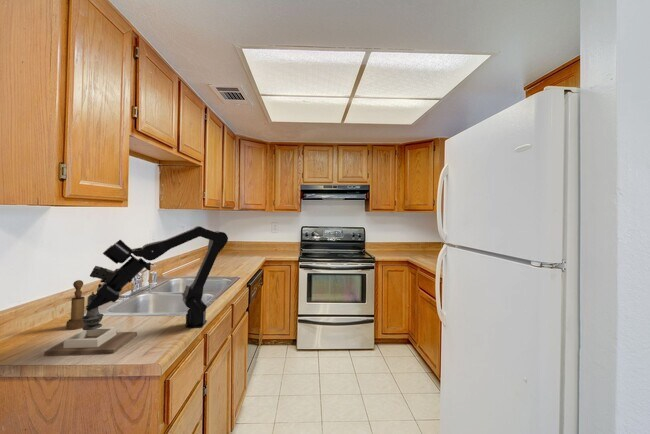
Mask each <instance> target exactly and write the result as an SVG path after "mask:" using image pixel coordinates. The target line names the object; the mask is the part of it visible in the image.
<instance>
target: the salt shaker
mask: <svg viewBox="0 0 650 434" xmlns="http://www.w3.org/2000/svg"><path fill="white" fill-rule="evenodd" d="M95 294H96V293H94V291H92V293H91V294H89V295H88V296H87V303H86V304H87V305H86V306H85V308H87V307H88V305H89V304H90V303H91V302H92V300H93V299H94V298H95V297H96V296H97V295H95ZM103 317H104V314H103V313H100V312H99V307H96V308H94V309H92V310H90V311H87V310H86V313H85V315H84V317H82V318H81V319H82V320H83V323H84V324H85V325H86V326H85V327H83V328H81V330H93V329H97V328H103V323H100V322H101V321H102V320H103Z"/></svg>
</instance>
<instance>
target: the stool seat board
mask: <svg viewBox="0 0 650 434" xmlns="http://www.w3.org/2000/svg"><path fill="white" fill-rule="evenodd" d="M137 336H138V332H137V331H122V332H121V331H118V332H117V327H100V328H97V329H93V330H83V329H81V330H80V331H78V332H76V333H75V334H73V335H71V336H69V337H67V338H65V339H63V341H61V342H59V343H58V344H56V345H53V346H52V347H50V348H48V349H47V350H45V351H43V352H44V353H43V354H44V356H64V355H65V356H67V355H69V356H70V355H96V354H97V355H99V354H101V355H102V354H105V355H106V354H115V353H116V352H118V350H119V349H121V348H122V347H124V346H125V345H127V344H129V342H130V341H131V340H133V339H134V338H135V337H137Z"/></svg>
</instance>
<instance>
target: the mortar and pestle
mask: <svg viewBox="0 0 650 434" xmlns="http://www.w3.org/2000/svg"><path fill="white" fill-rule="evenodd" d="M72 286H73V287H74V289H75V291H74V292H73V293H74V297H72V298H71V299H70V300H71V308H70V310H71V311H70V319H68V320H67V321H66V325H65V329H66V330H78V329H82V328H83V327H85V326H86V325H85V324H84V323H83V320H82V319H81V318H82V317H84V316H85V302H86V301H85V300H86V299H85V296H82V294H83V291H82V290H81V289H82V287H83V286H84V281H83V280H81V279H80V280H79V279H77V280H75V281H74V282H73V283H72Z"/></svg>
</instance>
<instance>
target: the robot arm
mask: <svg viewBox="0 0 650 434" xmlns="http://www.w3.org/2000/svg"><path fill="white" fill-rule="evenodd" d="M199 237H201V238H204V239H207V240H208V245H207V251H206V253H205V255H204V258H203V259H202V262H201V264H200V266H199V269H198V271H197V273H196V275H195V278H194V280H193V282H192V283H191V284H190V286H189V285H185V287H184V291H183V293H182V294H181V296H182V301H183V304H184V305H185V307H187V309H188V310H187V312H186V314H185V328H202V327H204V326H205V325H206V323H207V322H208V320H207V319H206V318H207V317H206V316H207V315H206V313H207V312H206V311H207V307H208V306H207V305H206V303H205V302H204V301H203V300H202V299H203V293H204V286H205V285H206V282H207V280H208V277H209V276H210V273H211V270H212V268H213V266H214V264H215V262H216V259H217V257H218V255H219V253H220V252H221V251H222V250H223V249H224V248H225V246H226V244H227V243H228V241H229V236H228V235H227V234H226V232H224V231H219V230H217V231H213V230H210V229H207V228H204V226H195V227H194V228H191V229H188V230H186V231H183V232H181V233H179V234H177V235H174V236H172V237H169V238H167V239H164V240H158V241H154V242H149V243H145V244H143V246H142V247H135V248H131V247H129V245H127V244H126V243H125V242H124V241H123V240H122V239H118V240H117V241H116V242H115V243H114V244H112V245H110V246H109V247H108V248H106V249H105V251H103V252H102V255H103V256H105V257H107V258H108V259H109V260H111V262H112V263H115V264H118V263H119V264H120V265H121V264H122V265H121V266H120V267H119V268H115V270H112V269H109V268H106V267H103V266H98V265H95V266H94V267H93V269H92V270H91V273H90V274H89V277H90V278H94V279H95V278H96V279H100V280H99V282H100V283H99V284H98V287H97V290H96V293H94V294H95V295H97V296H96V297H95V298H94V299H93V300H92V302H91V303H90V304H89V305H88V307H85V310H86V312H87V311H90V310H92V309H94V308H96V307H98V308H99V307H101V306H103V305H105V304H108V303H110V302H112V303H115V302H116V301H118V300H119V299H120V292H122V291H123V289H124V287H126V286H127V285H128V284H129V283H131V282H132V281H133V279H134V278H135V277H137V276H138V274H140V273H141V272H142V271H143V270H144V269H146V270H147V271H149V272H150V271H151V269H152V268H151V265H152V263H151V262H150V261H154V260H156V259H159V258H160V257H161V256H162V255H164V254H166V253H167V252H168V251H169V250H171V249H174V248H175V247H178V246H181V245H183V244H185V243H188V242H190V241H192V240H195V239H197V238H199ZM136 257H137V258H136ZM147 261H149V262H147ZM101 283H102V284H101Z"/></svg>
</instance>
